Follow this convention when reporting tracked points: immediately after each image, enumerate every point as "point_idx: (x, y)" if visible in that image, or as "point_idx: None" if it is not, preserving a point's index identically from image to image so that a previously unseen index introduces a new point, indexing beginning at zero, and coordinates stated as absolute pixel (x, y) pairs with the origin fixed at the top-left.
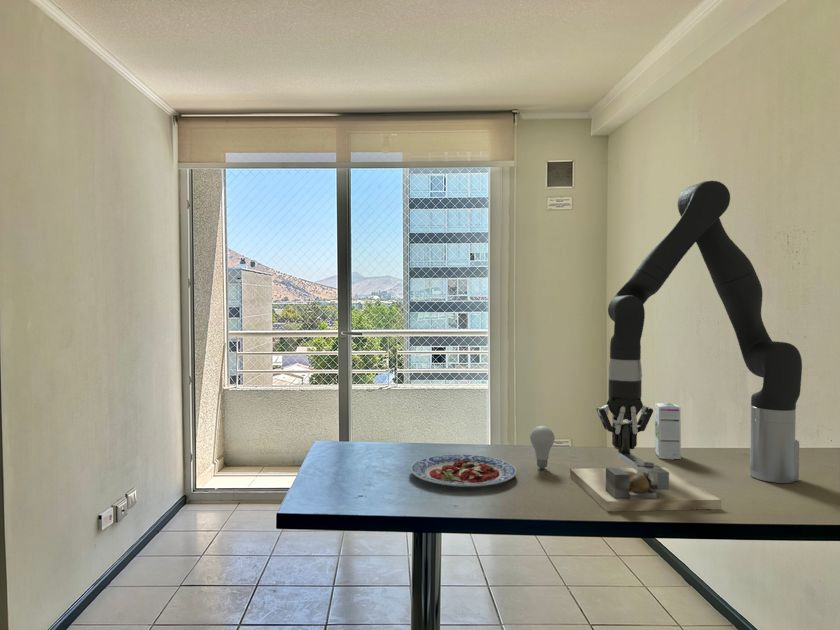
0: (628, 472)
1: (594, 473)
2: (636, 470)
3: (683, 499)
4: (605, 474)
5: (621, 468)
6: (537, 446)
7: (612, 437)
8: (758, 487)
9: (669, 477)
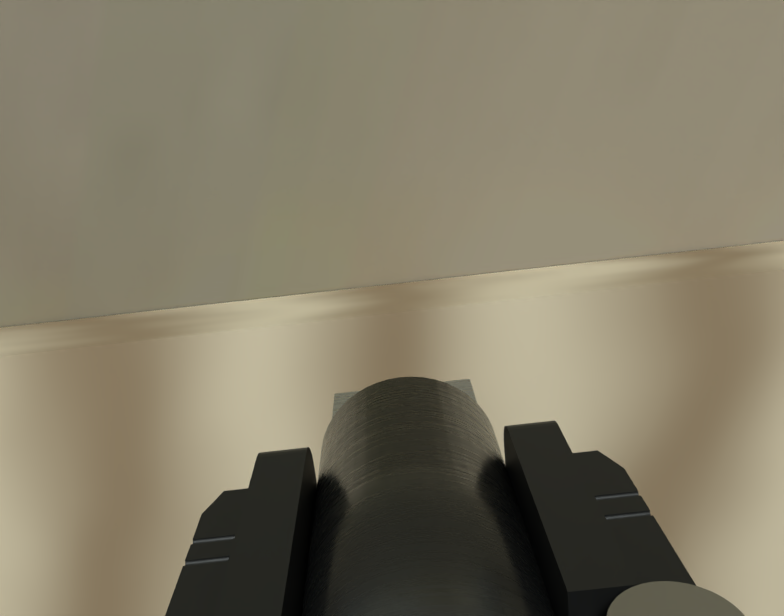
0: None
1: (38, 523)
2: (523, 395)
3: None
4: (148, 547)
5: (378, 329)
6: None
7: (176, 604)
8: None
9: (752, 585)
